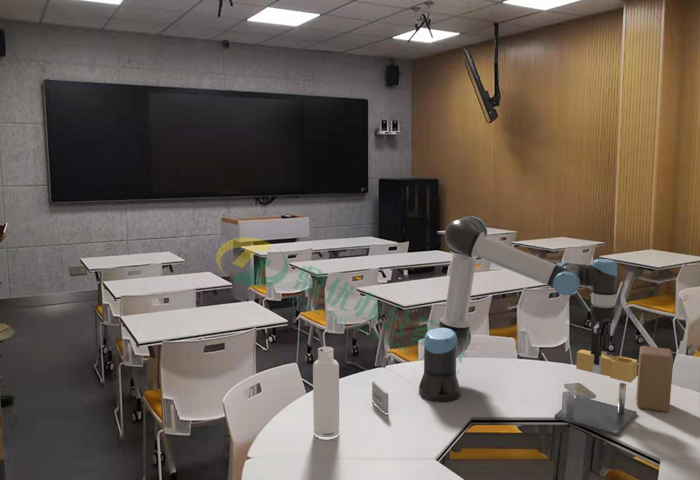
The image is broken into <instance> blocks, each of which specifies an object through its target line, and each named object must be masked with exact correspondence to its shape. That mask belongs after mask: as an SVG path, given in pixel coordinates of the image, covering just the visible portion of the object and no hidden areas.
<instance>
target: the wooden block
mask: <svg viewBox="0 0 700 480" xmlns="http://www.w3.org/2000/svg"><path fill="white" fill-rule="evenodd" d="M638 355H639V356H638V365H637V381H636V382H637V383H636V394H635V395H636V406H637V408H639V409H645V410H650V411H657V412H662V413H668V412H669V411H670V407H671V405H670V404H671V392H672V383H673V382H672V380H673V367H674V356H673V351H672V350H671V348H666V347H663V348H662V347H656V346H648V345H641V346H640V347H639V354H638Z"/></svg>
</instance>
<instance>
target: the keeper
mask: <svg viewBox="0 0 700 480" xmlns="http://www.w3.org/2000/svg"><path fill="white" fill-rule="evenodd" d="M563 387H564V388H565V389H566V390H567V391H562V393H561V395H562V396H561V397H562V398H561V409H562V413H561V415H563V416H564V417H565V418H573V410H574V398H575V397H578V398H579V399H592V400H593V399H597V394H596V393H594V392H593V391H592V390H590V389H589V388H587V387H586V386H585V385H583V384H582V383H580V382H573V383H572V382H571V383H570V382H569V383H564V384H563Z"/></svg>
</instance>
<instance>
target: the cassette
mask: <svg viewBox="0 0 700 480" xmlns="http://www.w3.org/2000/svg"><path fill="white" fill-rule="evenodd" d="M371 385H372V387H371V399H372V400H373V401H374V403H375V404H376V405H377V406H378V407H379V408H380V409H381V410H382V411H384V412H385V413H388V414H389V392H387V391H386V390H385V389H384V388H382V387H381V386H380V385H379V384H378V383H377V382H376V381H372V382H371ZM372 400H371V401H372Z"/></svg>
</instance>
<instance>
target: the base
mask: <svg viewBox="0 0 700 480" xmlns="http://www.w3.org/2000/svg"><path fill="white" fill-rule="evenodd" d="M618 386H619V388H618V402H617V403H618V404H617V405H614V404H610V403H607V402H602V401H598V400H595V399H593V398H592V399H579V398H578V397H576V396H574V410H573V418H565V417H564V416H563V415H561V413H562V408H561V409H560V410H559V411H557V413H555V414H554V419H557V420H560V421H562V422H566V423H569V424H573V425H577V426H580V427H583V428H586V429H589V430H593V431H597V432H599V433H603V434H607V435H610V436H612V437H616V438H617V437H618V436H619V435H620V434H621V433H622V432H623V431H624V430H625V429H626V428H627V426H628V425H629V424H630V423H631V422H632V421H633V419H635V417H636V416H637V415H638V411H637V410H632V409H629V408H625V407H626V406H625V404H626V392H627V391H626V389H627V384H626V383H625V382H619V385H618ZM630 421H631V422H630Z"/></svg>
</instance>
